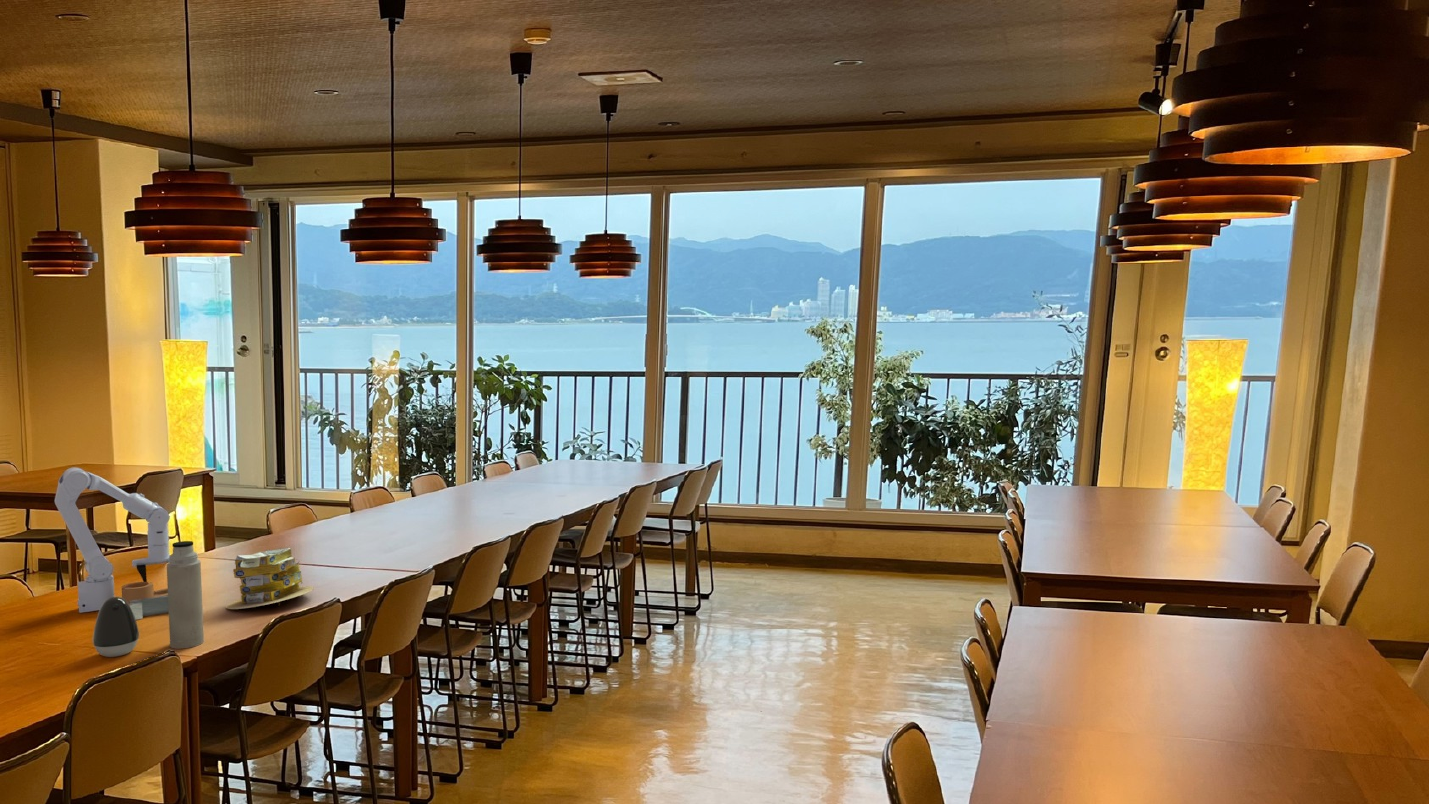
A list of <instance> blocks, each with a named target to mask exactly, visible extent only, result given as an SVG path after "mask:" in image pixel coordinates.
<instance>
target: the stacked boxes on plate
mask: <svg viewBox="0 0 1429 804" xmlns="http://www.w3.org/2000/svg"><path fill="white" fill-rule="evenodd" d="M296 560H298V559H297V558H295V557H293V556H292V549H291V548H290V547H286V548H279V549H268V550H265V551H258V552H255V553H253V554H246V555H245V554H244V555H243V554H241V555H240V554H239V555H237V556H236V558H235V559H234V564H235V568H233V576H234V577H233V578H235V579H239V580H240V583H241V585H239V591H240V598H241V599H239V600H237V601H232V602H231V603H229V604H227V605H226V609H229V610H239V609H240V610H242V609H249V608H251V609H253V608H256V607H261V606H265V605H270V604H275V603H277V604H278V606H279V607H280V606H281V602H282V601H286V600H287V601H288V600H290V599H294V598H296V597H300V596H302V595H303V596H304V595H305V594H307V593H310V592H311V591H313V590H314V589H315V587H313V586H311V585H310V586H303V585H302V586H300V584H303V577H302V570H301V569H300V561H298V562H296Z"/></svg>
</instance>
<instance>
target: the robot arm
mask: <svg viewBox="0 0 1429 804" xmlns="http://www.w3.org/2000/svg"><path fill="white" fill-rule="evenodd" d="M86 489H87V490H89V491H100V492H102V493H103V494H106V495H107V496H110V497H111V498H113V499H115V500H117V501H119V502H121V504H122V507H123V509H124V510H126V511H127V512H129V513H131V514H133V515H135V516H137V517H139V518H140V519H144V520H145V521H146V522H147V550H148V552H147V553H148V557H144V558H139V559H133V560H132V562H131V563H132V568H136V570H137V571H138V573H139V575H140V577H141V580H142V582H148V580H147V567H146V566H151V565H157V564H158V565H161V564H168V563H170V561H169V556H170V555H171V554H170V541H169V535H170V534H169V528H168V526H169V521H170V518H171V516H170V515H169V512H168V511H167V509H164V508H163V507H162V506H161V505H159V503H158V502H155V501H154V502H153V501H151V500H149V499H148V498H146V497H145V494H144V493H143V494H142V493H137V492H132V493H128V492H126V491H125V490H123V489H121V488H120V487H118V486H116V485H115V484H113V483H111V482H110V481H108V480H106V479H104V478H103V477H101V476H99V475H97V474H94V473H92V472H89V471H85V470H84V469H83V468H80V467H75V466H73V467H70V468H68V469H66V470H65V471H63V473H62V475H61V476H60V477H59V479H58V483H57V488H56V493H55V496H54V504H55V506H56V509H57V510H58V512H59V514H60V516H61V517H62V520H63V521H64V523H65V525H66V527H67V528H68V531H69V532H70V535H71V537H72V538H73V540H74V542H75V544H76V545H77V548H78V550H79V551H80V554H81V555H82V558H83V559H84V562H85V563H84V569H85V571H86V572H87V573H88V575H87V577H85V580H83V581H78V582H77V592H78V593H77V596H78V598H77V599H78V600H77V607H78V613H79V614H80V613H81V614H82V613H88V612H97V611H100V609H101V607H102V605H103V603H104V602H105V601H106V600H108V599H109V598H112V597H115V581H114V575H113V573H114V565H113V564H112V562H110V561H109V559H108V558H107V557H105V556H104V555H103V553H102V551H101V550H100V547H99V546H98V544H97V542H96V540H95V538H94V537H93V534H92V533H91V530H90V528H89V527H88V525H87V523H86V521H85V520H84V518H83V515H82V514H81V512H80V510H79V508H78V507H77V504H76V502H77V500H78V498H79V497H80V495H81V493H82V492H84V491H86Z"/></svg>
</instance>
